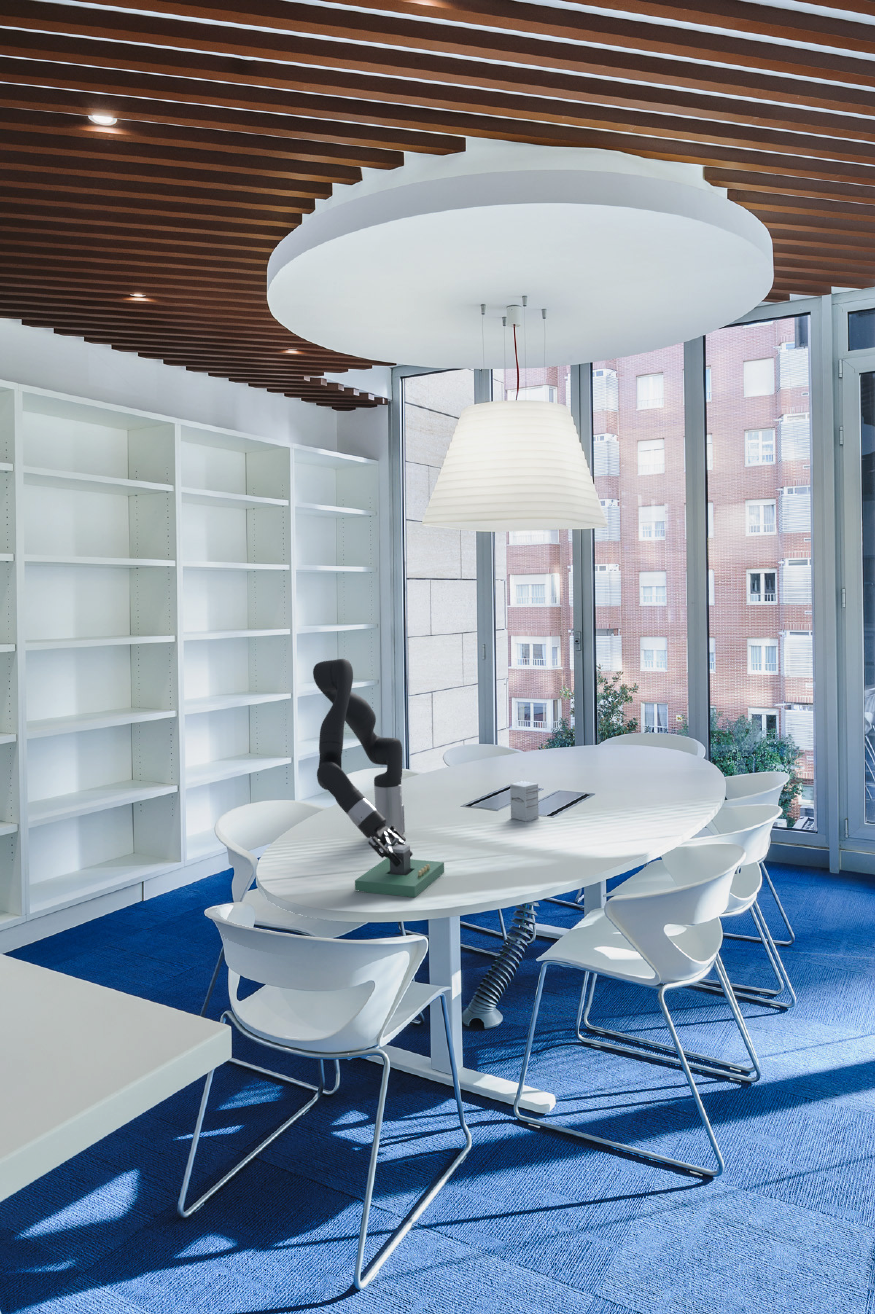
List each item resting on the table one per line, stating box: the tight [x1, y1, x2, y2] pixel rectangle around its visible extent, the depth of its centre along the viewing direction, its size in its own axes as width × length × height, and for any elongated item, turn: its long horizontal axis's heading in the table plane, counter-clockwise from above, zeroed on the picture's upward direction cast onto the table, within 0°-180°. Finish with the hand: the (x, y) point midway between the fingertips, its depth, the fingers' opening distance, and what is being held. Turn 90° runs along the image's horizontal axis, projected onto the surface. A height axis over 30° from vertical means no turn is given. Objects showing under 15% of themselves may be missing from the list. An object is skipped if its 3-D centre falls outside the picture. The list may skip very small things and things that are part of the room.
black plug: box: [390, 843, 411, 876], centre depth 250 cm, size 4×4×10 cm
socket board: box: [354, 857, 445, 898], centre depth 250 cm, size 22×18×4 cm
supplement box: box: [509, 780, 540, 822], centre depth 314 cm, size 7×7×13 cm
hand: (405, 860), depth 249 cm, fingers open, 7 cm apart
